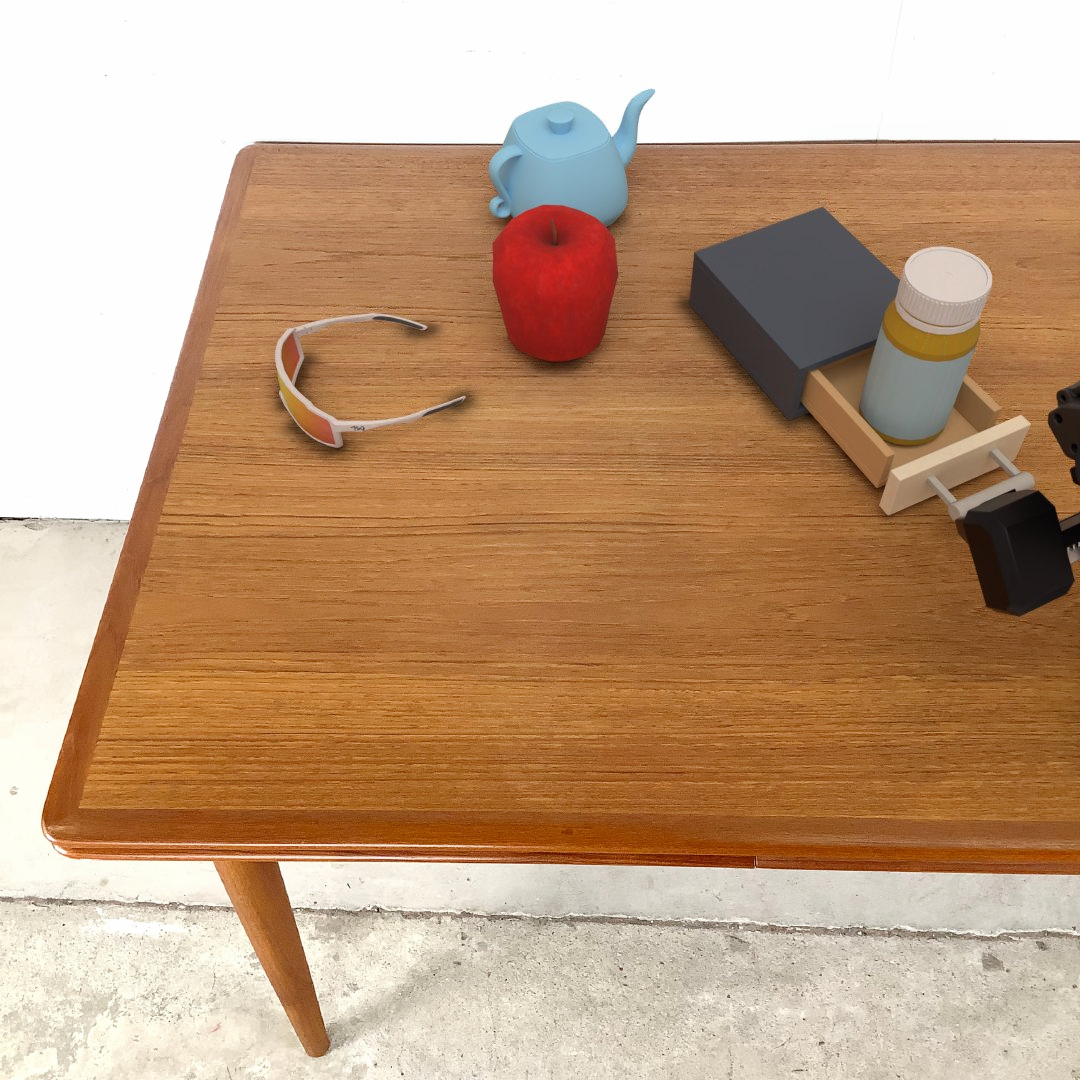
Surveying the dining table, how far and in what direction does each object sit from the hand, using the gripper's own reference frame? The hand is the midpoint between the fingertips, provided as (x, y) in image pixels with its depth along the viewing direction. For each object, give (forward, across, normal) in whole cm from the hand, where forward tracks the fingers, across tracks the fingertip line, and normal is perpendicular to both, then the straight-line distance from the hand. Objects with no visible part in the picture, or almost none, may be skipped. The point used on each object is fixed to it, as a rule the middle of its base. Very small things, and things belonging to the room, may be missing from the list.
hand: (1016, 500), depth 72 cm
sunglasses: (+40, +31, -20) cm, 54 cm away
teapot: (+50, +3, -31) cm, 59 cm away
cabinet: (+31, -7, -12) cm, 34 cm away
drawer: (+20, -7, -2) cm, 21 cm away
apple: (+38, +13, -18) cm, 44 cm away
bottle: (+20, -7, -4) cm, 22 cm away
